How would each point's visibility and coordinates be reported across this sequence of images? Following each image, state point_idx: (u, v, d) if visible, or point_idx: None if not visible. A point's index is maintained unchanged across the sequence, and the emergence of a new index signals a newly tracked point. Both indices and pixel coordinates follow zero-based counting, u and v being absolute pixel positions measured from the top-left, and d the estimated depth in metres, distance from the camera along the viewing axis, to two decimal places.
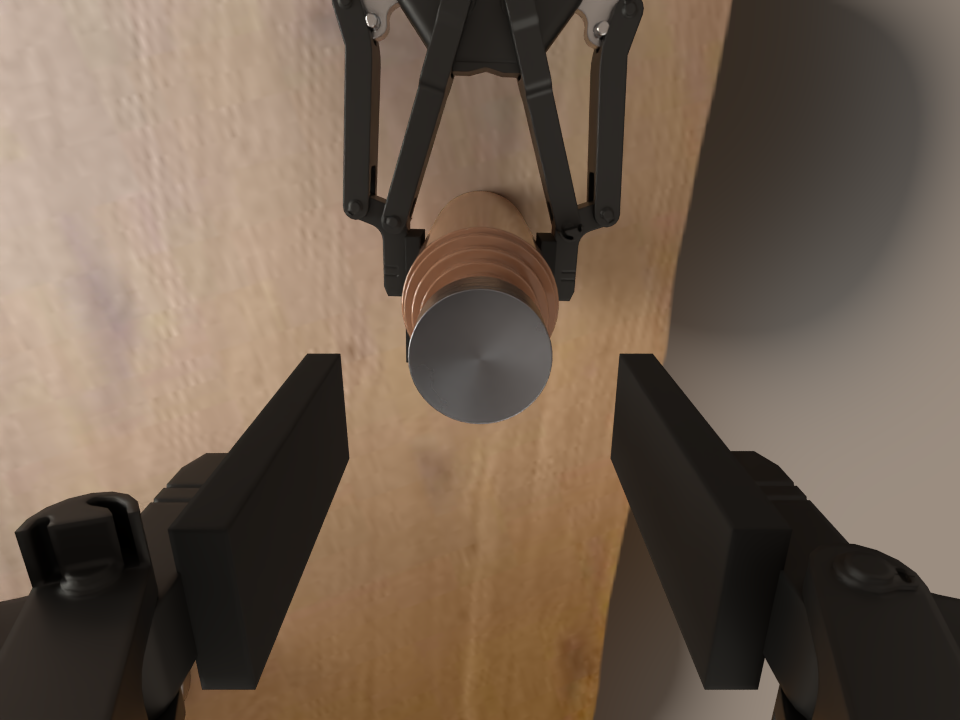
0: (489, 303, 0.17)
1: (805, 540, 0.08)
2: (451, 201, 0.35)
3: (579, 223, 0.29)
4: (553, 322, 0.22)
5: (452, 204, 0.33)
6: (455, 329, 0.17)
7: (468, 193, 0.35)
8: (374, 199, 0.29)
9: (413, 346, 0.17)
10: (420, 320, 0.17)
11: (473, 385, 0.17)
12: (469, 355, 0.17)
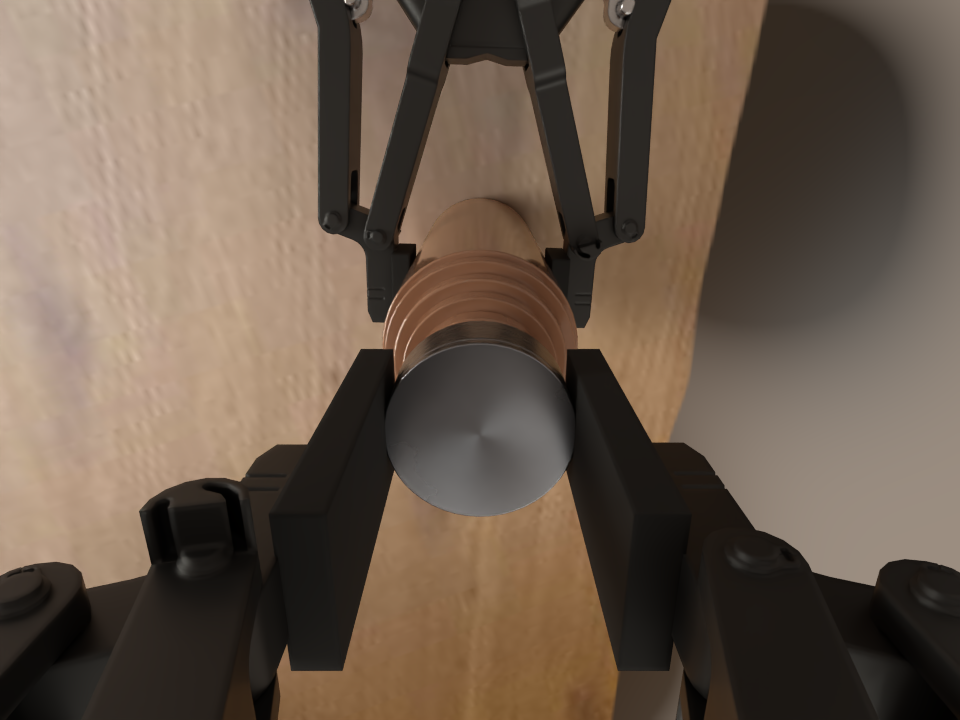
0: (492, 362, 0.12)
1: (713, 526, 0.09)
2: (447, 210, 0.31)
3: (597, 238, 0.25)
4: None
5: (448, 214, 0.28)
6: (446, 396, 0.12)
7: (466, 201, 0.31)
8: (355, 210, 0.25)
9: (390, 418, 0.13)
10: (399, 384, 0.12)
11: (471, 467, 0.13)
12: (465, 430, 0.13)
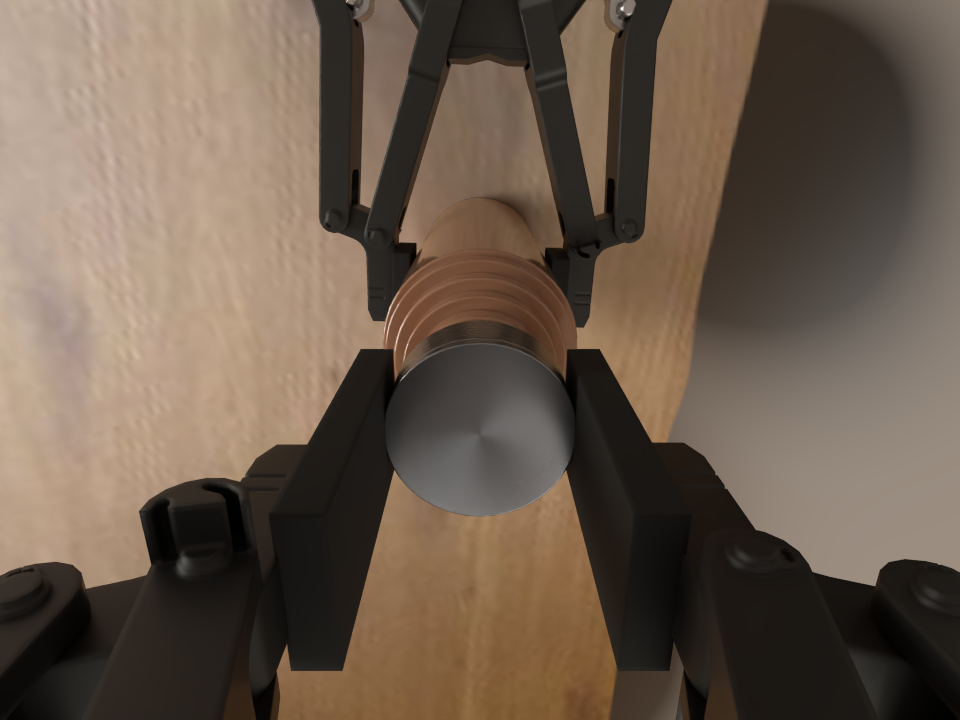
0: (402, 443, 0.13)
1: (713, 526, 0.09)
2: (447, 209, 0.31)
3: (596, 238, 0.25)
4: None
5: (448, 214, 0.28)
6: (449, 472, 0.13)
7: (467, 200, 0.31)
8: (356, 209, 0.25)
9: (487, 512, 0.13)
10: (451, 511, 0.13)
11: (518, 433, 0.13)
12: (478, 448, 0.13)
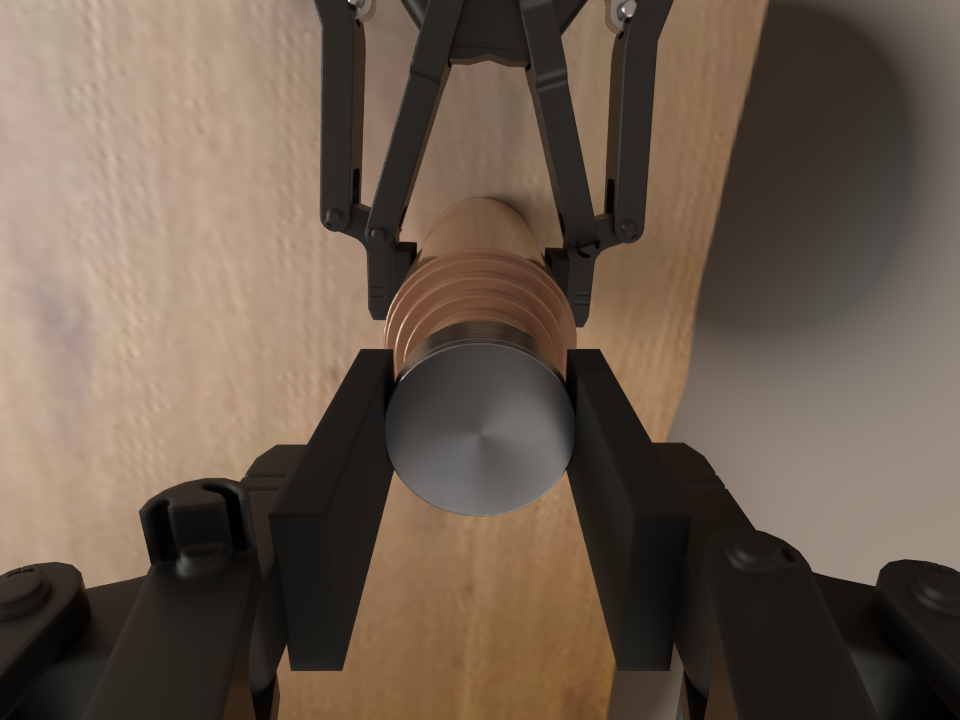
0: (510, 496, 0.13)
1: (713, 526, 0.09)
2: (448, 209, 0.31)
3: (596, 238, 0.25)
4: None
5: (448, 213, 0.28)
6: (529, 450, 0.13)
7: (467, 200, 0.31)
8: (357, 208, 0.25)
9: (566, 405, 0.13)
10: None
11: (467, 401, 0.12)
12: (495, 432, 0.13)
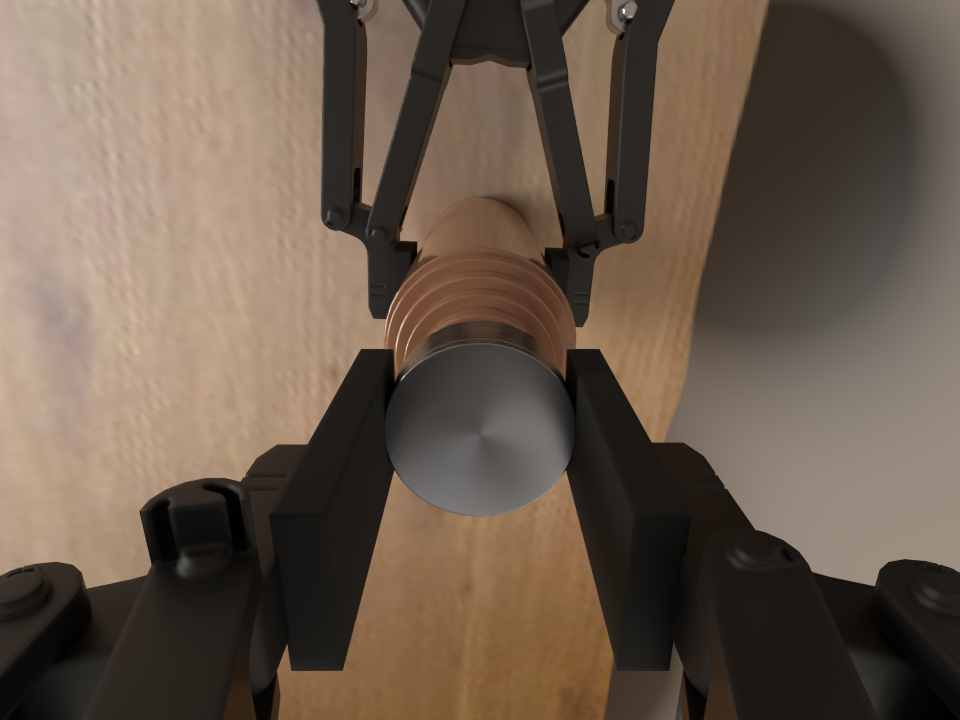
0: (541, 387, 0.12)
1: (713, 526, 0.09)
2: (448, 209, 0.31)
3: (596, 239, 0.25)
4: None
5: (449, 213, 0.28)
6: (482, 385, 0.12)
7: (467, 200, 0.31)
8: (358, 207, 0.25)
9: (422, 367, 0.12)
10: (454, 347, 0.12)
11: (449, 455, 0.13)
12: (472, 422, 0.13)
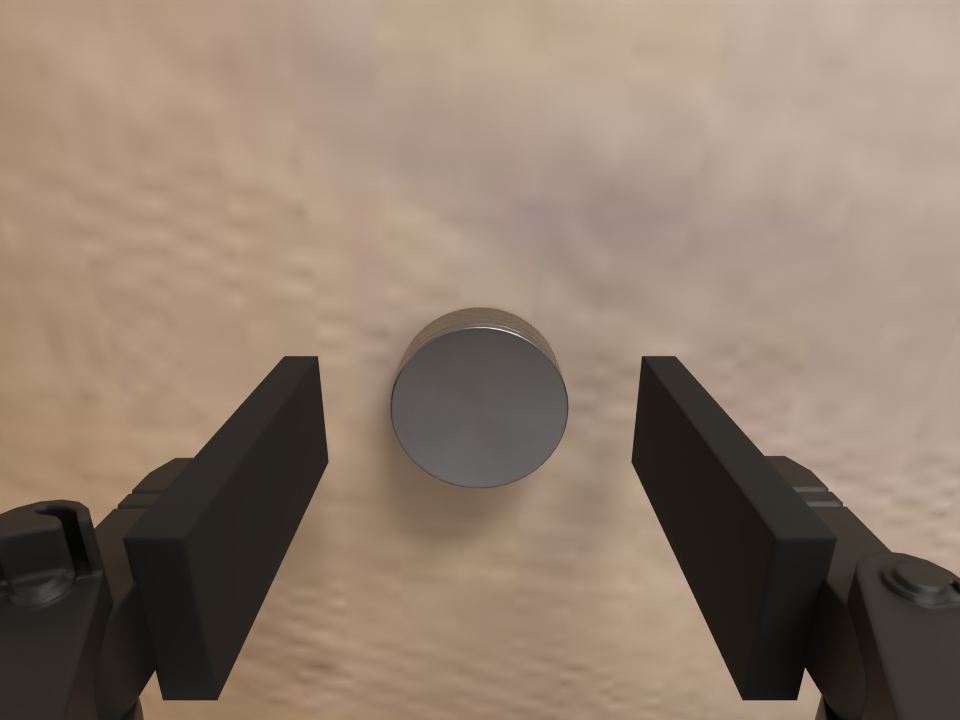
0: (535, 368, 0.14)
1: (845, 547, 0.08)
2: None
3: None
4: None
5: None
6: (481, 366, 0.14)
7: None
8: None
9: (426, 349, 0.13)
10: (456, 331, 0.13)
11: (451, 430, 0.14)
12: (472, 400, 0.14)
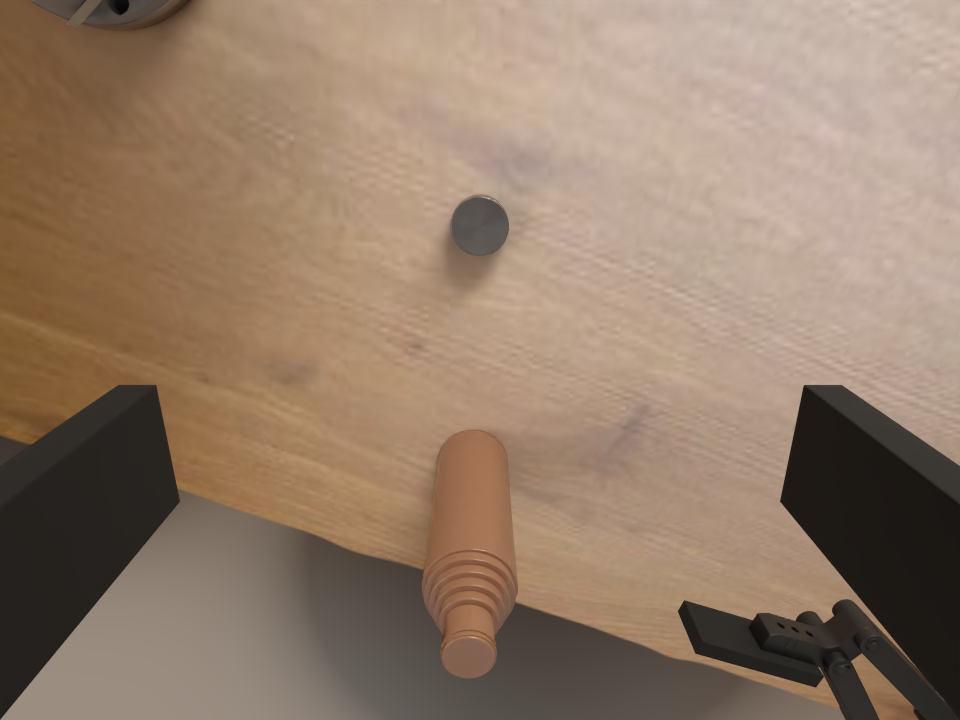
0: (497, 211, 0.42)
1: None
2: (506, 457, 0.50)
3: None
4: None
5: (508, 477, 0.48)
6: (480, 210, 0.42)
7: None
8: (855, 649, 0.29)
9: (463, 204, 0.42)
10: (472, 198, 0.42)
11: (470, 233, 0.43)
12: (477, 222, 0.43)
